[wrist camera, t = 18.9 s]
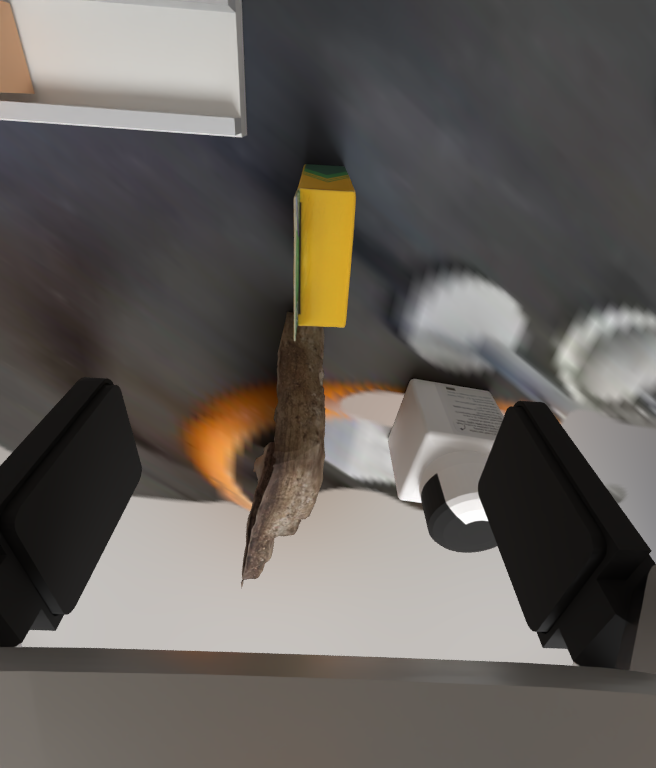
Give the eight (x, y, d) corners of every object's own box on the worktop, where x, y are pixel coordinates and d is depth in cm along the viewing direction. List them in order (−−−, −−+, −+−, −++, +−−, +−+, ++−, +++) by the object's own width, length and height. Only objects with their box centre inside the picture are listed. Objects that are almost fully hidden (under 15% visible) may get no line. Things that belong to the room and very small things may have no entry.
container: (459, 450, 42) (505, 570, 31) (386, 439, 41) (407, 558, 30) (490, 389, 38) (556, 503, 27) (410, 376, 37) (444, 488, 26)
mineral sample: (287, 304, 33) (264, 427, 20) (336, 315, 33) (343, 442, 21) (255, 453, 42) (225, 601, 29) (294, 459, 43) (281, 608, 30)
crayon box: (340, 272, 31) (347, 346, 22) (301, 271, 31) (290, 343, 22) (348, 165, 27) (360, 197, 18) (303, 163, 27) (290, 194, 18)
